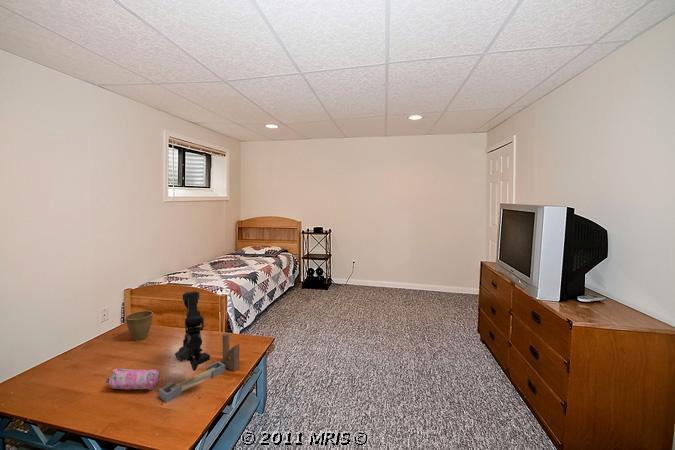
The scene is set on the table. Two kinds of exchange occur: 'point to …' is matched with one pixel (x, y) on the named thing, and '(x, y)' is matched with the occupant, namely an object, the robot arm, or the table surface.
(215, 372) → the endcap
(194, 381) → the slat
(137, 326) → the plant pot
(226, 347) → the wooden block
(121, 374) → the pencil case
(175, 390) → the endcap
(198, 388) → the table surface
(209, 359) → the robot arm
